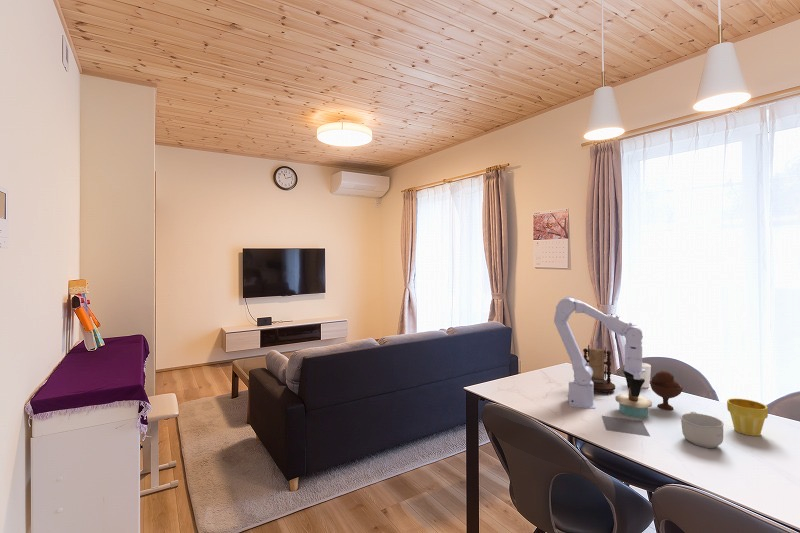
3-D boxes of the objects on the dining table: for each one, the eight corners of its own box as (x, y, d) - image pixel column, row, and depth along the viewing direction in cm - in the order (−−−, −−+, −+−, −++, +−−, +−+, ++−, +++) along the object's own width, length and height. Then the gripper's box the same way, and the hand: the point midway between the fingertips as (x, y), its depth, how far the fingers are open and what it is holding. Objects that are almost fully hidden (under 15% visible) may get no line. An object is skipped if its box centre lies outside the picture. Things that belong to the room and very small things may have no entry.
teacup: (726, 455, 116) (726, 429, 115) (682, 446, 121) (682, 421, 121) (718, 437, 127) (718, 413, 127) (678, 429, 133) (678, 406, 133)
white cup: (654, 388, 175) (654, 366, 175) (637, 388, 175) (637, 366, 175) (643, 382, 183) (644, 362, 183) (627, 382, 183) (627, 362, 183)
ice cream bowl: (688, 414, 146) (688, 375, 146) (655, 412, 148) (656, 373, 148) (674, 403, 156) (674, 367, 156) (644, 402, 159) (644, 366, 158)
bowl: (621, 416, 144) (621, 404, 144) (617, 407, 153) (617, 396, 153) (649, 420, 141) (650, 407, 141) (644, 410, 150) (644, 399, 149)
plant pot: (723, 430, 132) (723, 402, 132) (731, 422, 138) (731, 395, 138) (764, 441, 124) (764, 411, 124) (770, 432, 130) (770, 404, 130)
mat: (606, 431, 132) (606, 429, 132) (601, 416, 144) (601, 415, 144) (650, 437, 127) (650, 436, 127) (641, 421, 140) (641, 420, 139)
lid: (618, 405, 143) (618, 391, 143) (612, 394, 155) (612, 381, 154) (656, 409, 139) (656, 395, 139) (647, 398, 150) (647, 385, 150)
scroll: (577, 391, 172) (577, 347, 172) (580, 382, 185) (580, 340, 185) (615, 396, 165) (615, 350, 164) (615, 386, 178) (615, 344, 177)
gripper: (650, 363, 138) (649, 400, 139) (641, 354, 152) (641, 388, 152) (627, 361, 141) (627, 398, 141) (621, 352, 155) (621, 386, 155)
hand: (633, 392), depth 147 cm, fingers open, 7 cm apart
